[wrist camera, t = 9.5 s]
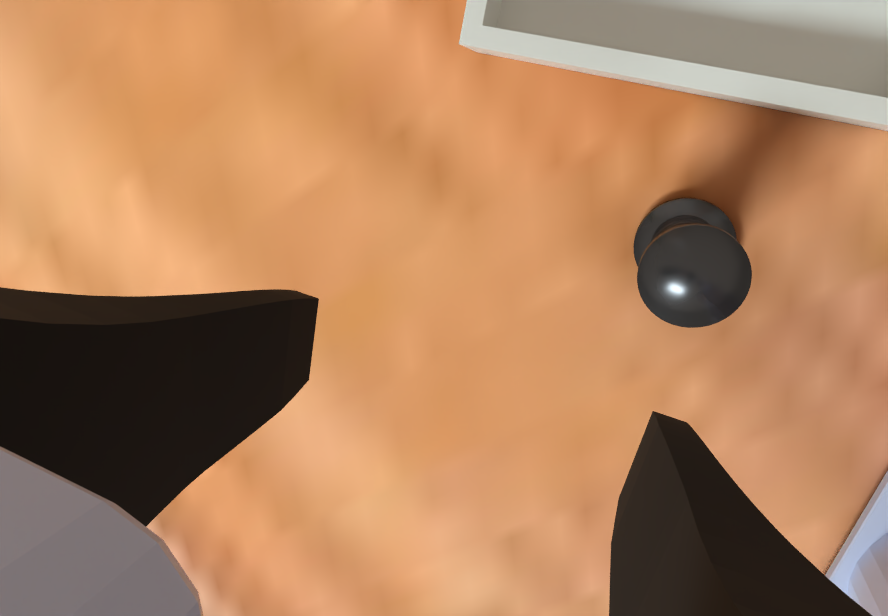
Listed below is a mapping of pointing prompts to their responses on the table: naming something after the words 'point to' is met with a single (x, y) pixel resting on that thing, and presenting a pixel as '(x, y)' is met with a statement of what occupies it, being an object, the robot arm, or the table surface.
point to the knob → (690, 263)
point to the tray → (707, 48)
